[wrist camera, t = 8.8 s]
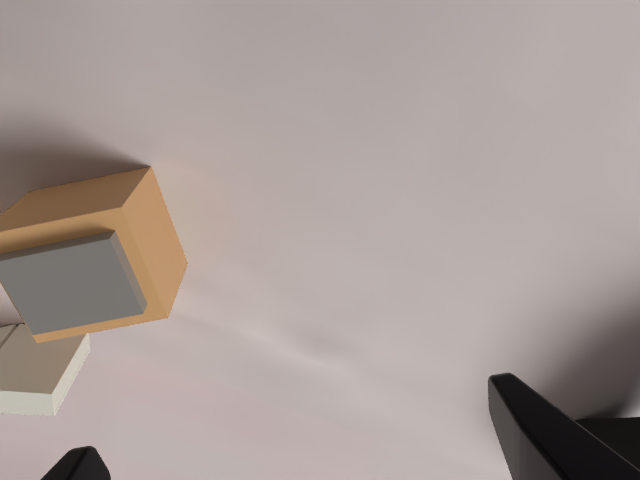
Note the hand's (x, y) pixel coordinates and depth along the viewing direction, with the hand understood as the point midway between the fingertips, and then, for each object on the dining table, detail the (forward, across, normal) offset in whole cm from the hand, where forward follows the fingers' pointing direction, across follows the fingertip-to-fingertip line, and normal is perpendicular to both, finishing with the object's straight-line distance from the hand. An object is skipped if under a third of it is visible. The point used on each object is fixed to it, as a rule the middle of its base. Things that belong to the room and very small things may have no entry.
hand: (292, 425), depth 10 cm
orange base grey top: (+12, +8, 0) cm, 14 cm away
